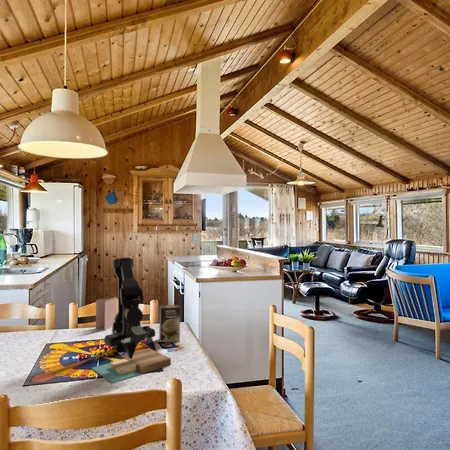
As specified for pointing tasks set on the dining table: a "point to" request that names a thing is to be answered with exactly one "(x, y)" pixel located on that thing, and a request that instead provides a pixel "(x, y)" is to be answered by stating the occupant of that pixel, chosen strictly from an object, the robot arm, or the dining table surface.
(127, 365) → the birch tile
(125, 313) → the robot arm
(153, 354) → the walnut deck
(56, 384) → the dining table surface
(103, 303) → the greeting card
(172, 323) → the coffee box
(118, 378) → the teal mat
